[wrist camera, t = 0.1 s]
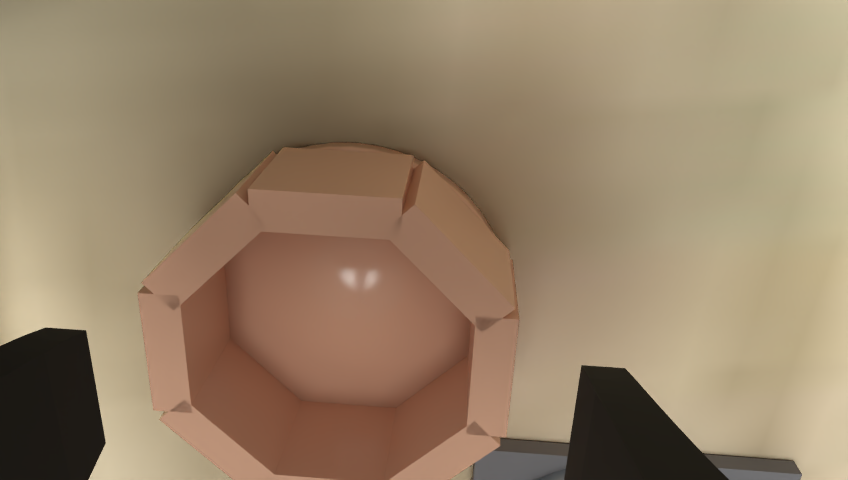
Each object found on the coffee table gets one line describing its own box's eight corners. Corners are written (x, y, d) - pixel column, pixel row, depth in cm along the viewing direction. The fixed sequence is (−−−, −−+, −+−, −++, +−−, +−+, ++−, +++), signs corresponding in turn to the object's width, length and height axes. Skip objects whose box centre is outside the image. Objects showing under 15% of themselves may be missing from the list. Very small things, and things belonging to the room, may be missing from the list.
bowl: (492, 425, 23) (496, 521, 19) (213, 404, 23) (165, 494, 19) (520, 152, 19) (531, 207, 15) (188, 132, 19) (122, 180, 16)
